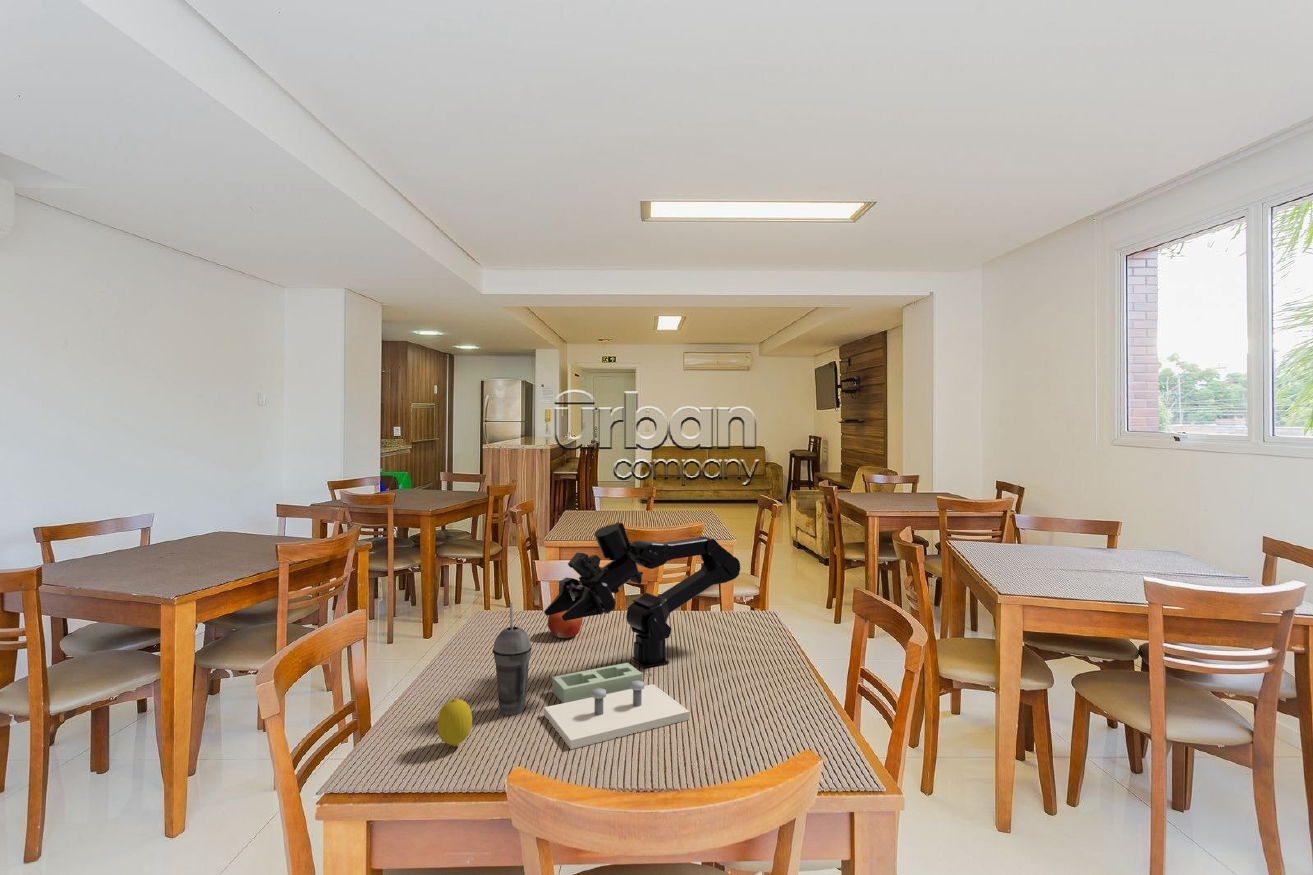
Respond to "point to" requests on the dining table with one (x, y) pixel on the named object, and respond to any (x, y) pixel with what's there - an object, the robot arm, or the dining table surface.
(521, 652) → the beverage cup
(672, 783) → the dining table surface
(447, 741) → the lemon
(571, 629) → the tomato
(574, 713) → the board
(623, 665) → the panel
